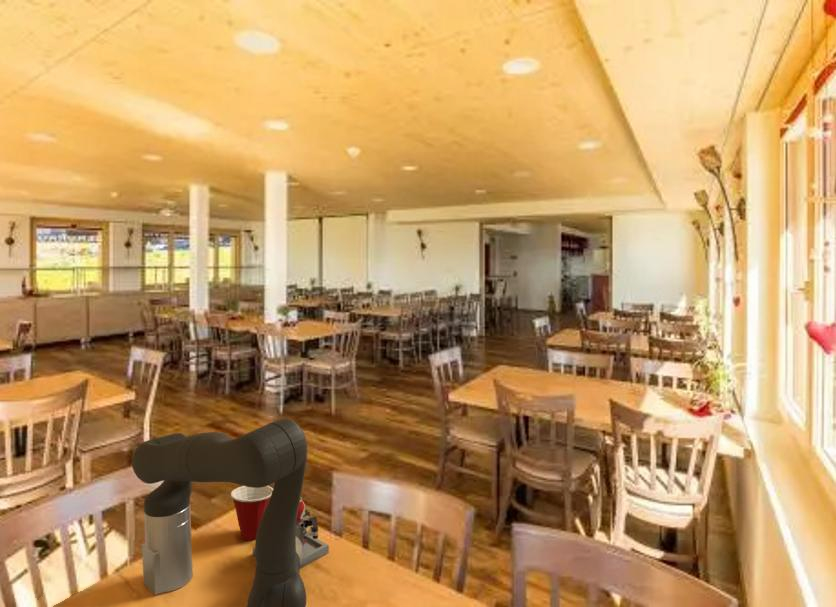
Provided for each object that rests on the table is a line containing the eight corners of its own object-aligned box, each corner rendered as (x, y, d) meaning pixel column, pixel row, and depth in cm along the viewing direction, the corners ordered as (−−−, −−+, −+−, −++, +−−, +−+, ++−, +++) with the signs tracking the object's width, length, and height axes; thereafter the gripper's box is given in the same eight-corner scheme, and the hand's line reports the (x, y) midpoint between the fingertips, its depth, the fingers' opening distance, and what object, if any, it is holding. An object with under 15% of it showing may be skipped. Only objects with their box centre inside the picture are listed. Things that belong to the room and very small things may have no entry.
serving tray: (284, 577, 118) (284, 569, 117) (252, 555, 126) (252, 547, 126) (328, 552, 127) (328, 545, 127) (296, 534, 136) (296, 526, 136)
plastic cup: (283, 531, 137) (282, 487, 136) (251, 550, 128) (249, 504, 127) (256, 519, 143) (255, 478, 142) (222, 537, 134) (221, 493, 133)
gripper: (318, 532, 113) (320, 497, 129) (250, 537, 110) (261, 501, 127) (319, 564, 113) (320, 526, 130) (251, 570, 111) (261, 530, 127)
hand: (291, 514), depth 128 cm, fingers closed on soda can, 6 cm apart
